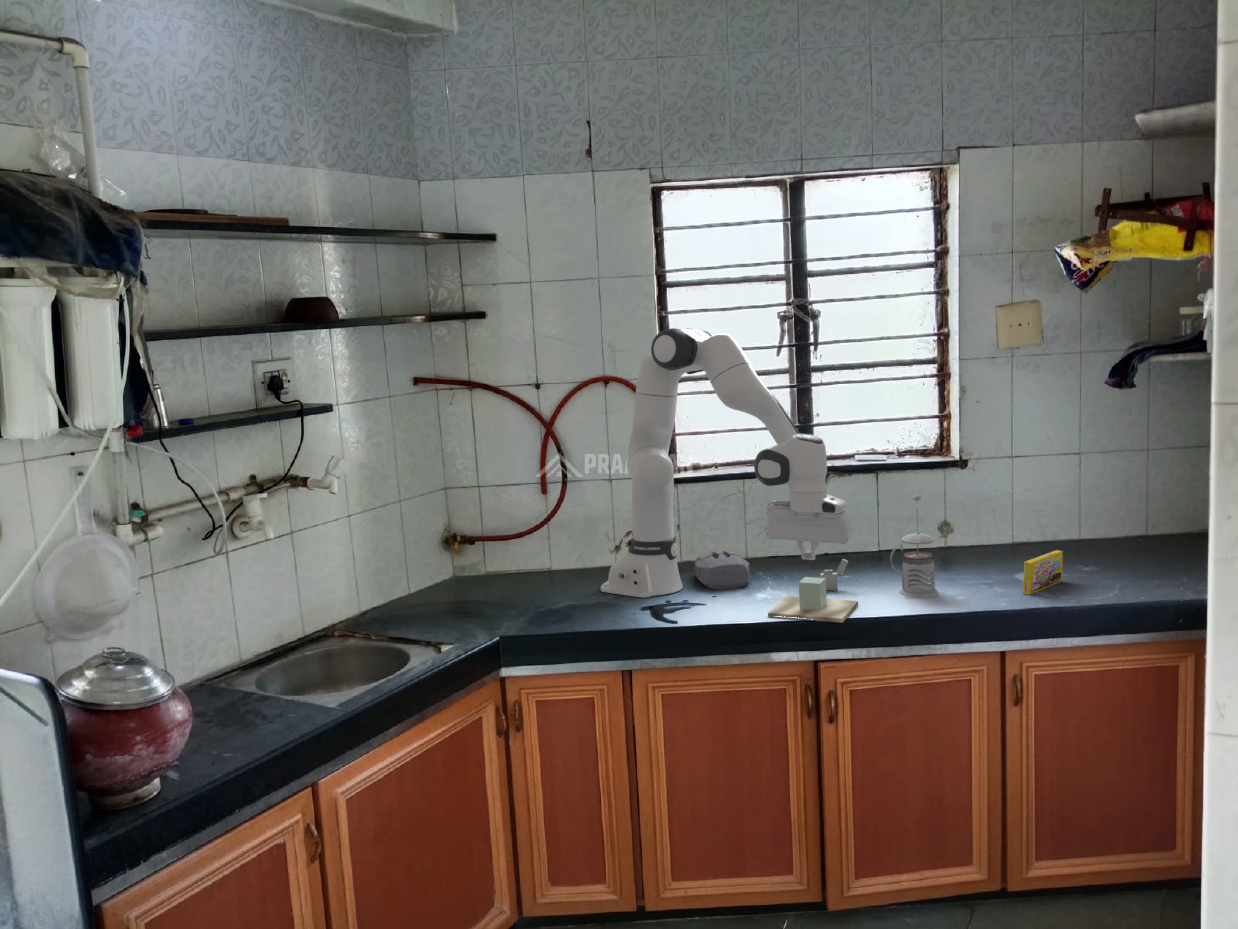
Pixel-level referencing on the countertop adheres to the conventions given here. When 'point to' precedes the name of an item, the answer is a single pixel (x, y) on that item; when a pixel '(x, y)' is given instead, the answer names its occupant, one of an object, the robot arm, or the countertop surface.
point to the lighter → (833, 575)
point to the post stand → (829, 613)
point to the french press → (917, 566)
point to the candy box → (1042, 572)
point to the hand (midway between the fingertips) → (808, 559)
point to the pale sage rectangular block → (812, 593)
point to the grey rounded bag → (722, 570)
